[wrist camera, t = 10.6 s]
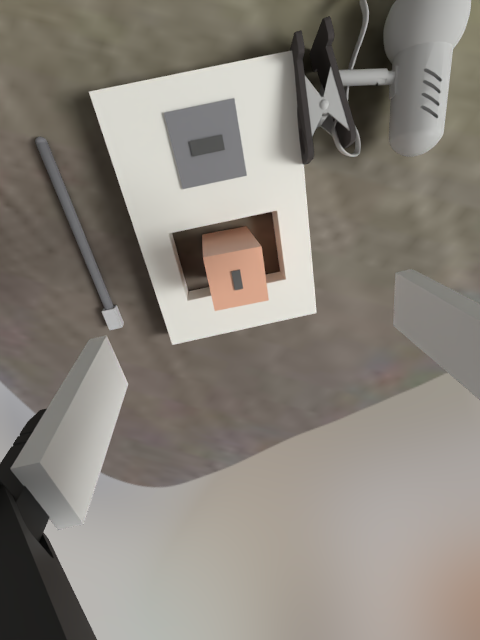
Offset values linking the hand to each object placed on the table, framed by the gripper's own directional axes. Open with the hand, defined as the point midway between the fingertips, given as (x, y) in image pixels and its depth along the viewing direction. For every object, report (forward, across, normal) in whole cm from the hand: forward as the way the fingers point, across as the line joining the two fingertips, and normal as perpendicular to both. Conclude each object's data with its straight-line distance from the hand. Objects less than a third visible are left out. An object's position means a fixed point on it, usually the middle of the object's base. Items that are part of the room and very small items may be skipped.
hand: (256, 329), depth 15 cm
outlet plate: (+16, 0, +2) cm, 17 cm away
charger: (+16, 0, -1) cm, 16 cm away
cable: (+16, -12, +3) cm, 21 cm away
